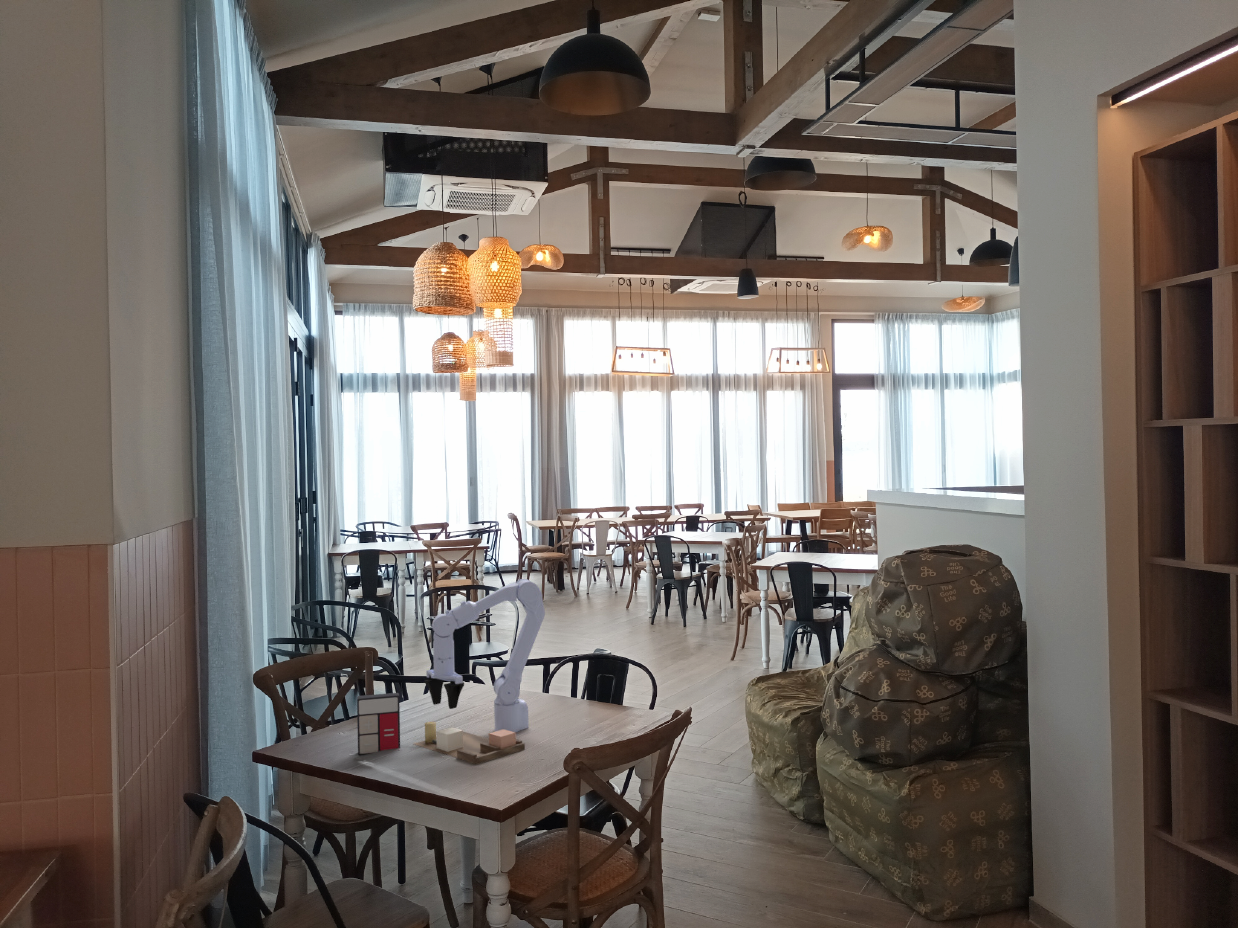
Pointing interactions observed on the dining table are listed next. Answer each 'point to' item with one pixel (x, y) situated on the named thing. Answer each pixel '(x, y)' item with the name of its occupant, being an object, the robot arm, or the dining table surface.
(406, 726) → the dining table surface
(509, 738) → the untied block
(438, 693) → the robot arm
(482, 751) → the shelf
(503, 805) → the dining table surface
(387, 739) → the calculator
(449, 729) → the tethered block
